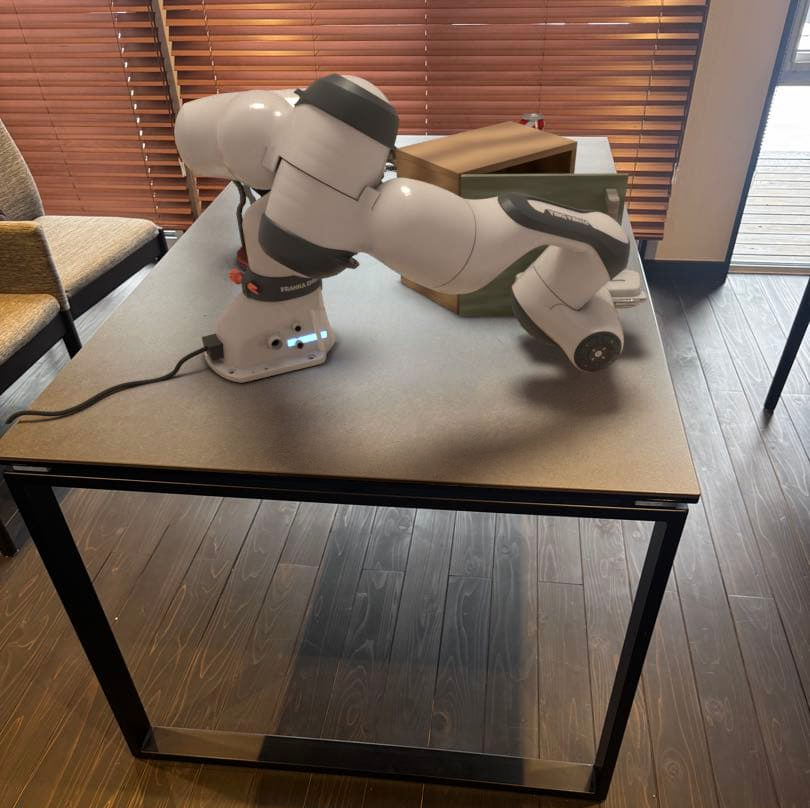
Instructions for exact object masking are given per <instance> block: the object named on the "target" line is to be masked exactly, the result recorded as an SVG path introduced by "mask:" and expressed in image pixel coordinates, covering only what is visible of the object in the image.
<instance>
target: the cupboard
mask: <svg viewBox="0 0 810 808" xmlns="http://www.w3.org/2000/svg"><path fill="white" fill-rule="evenodd" d="M577 150H578V140H575V139H571V138H567V137H564V136H561V135H558V134H555V133H551V132H548V131H546V130H545V131H542V130H538V129H535V128H532V127H529V126H525V125H522V124H519V122H516V121H512V120H507V121H505V122H504V121H503V122H501V123H495V124H492V125H487V126H483V127H480V128H475V129H472V130H467V131H463V132H459V133H455V134H450V135H446V136H442V137H438V138H434V139H430V140H425V141H421V142H417V143H412V144H410V145H405V146H401V147H397V148H396V166H395V168H396V178H409V179H414V180H418V181H422V182H426V183H429V184H432V185H435V186H438V187H440V188H443V189H445V190H447V191H450V192H452V193H454V194H456V195H458V196H460V197H461V175H462V174H575V170H576V160H577ZM400 283H402V284H403V285H406V286H407V287H409V288H410V289H412V290H414V291H415V292H418V293H419V294H421V295H423V296H424V297H426V298H428V299H429V300H431V301H433V302H435V303H437V304H438V305H440V306H442V307H443V308H445V309H447V310H449V311H451V312H452V313H454V314H455V315H459V306H460V294H445V293H441V292H438V291H435V290H432V289H429V288H427V287H425V286H422V285H420V284H417V283H415V282H413V281H411V280H409V279H407V278H405V277H403V276H401V275H400Z"/></svg>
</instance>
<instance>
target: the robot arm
mask: <svg viewBox="0 0 810 808" xmlns="http://www.w3.org/2000/svg"><path fill="white" fill-rule="evenodd" d="M399 128H400V117H399V114H398V112H397V109H396V107H394V106H393V105H392V104H391V103H390V101H389V99H388V98H387V96H386V95H385V94H384V92H382V91H381V90H380V88H378V87H377V86H376V85H374V83H372V82H370V81H368V80H366V79H364V78H361V77H359V76H355V75H350V74H338V73H335V72H334V73H330V74H327V75H325V76H321V77H319V78H317V79H316V80H314V81H313V82H312V83H311V84H310V85H309V86H308V87H300V88H299V87H297V88H286V89H271V90H270V89H269V90H267V89H251V90H245V91H234V92H225V93H217V94H213V95H208V96H204V97H200V98H198V99H194V100H191V101H187V102H185V103H183V105H182V106H181V107H180V108H179V111H178V113H177V116H176V119H175V123H174V131H173V133H174V142H175V146H176V150H177V152H178V155H179V156H180V158H181V160H182V161H183V163H184V164H185V166H186V167H187V168H188V169H189V170H190V171H191V172H192V173H193V174H194V175H195V176H201V177H208V178H215V179H225V180H226V179H227V180H231V181H232V180H237V181H239V182H240V183H241V184H242V185H243V184H244V185H246V186H249V187H251V188H255V189H261V190H268V189H271V191H270V192H268V193H267V194H265V195H264V196H262V197H261V196H260V197H259V198H257V199H256V201H255V202H254V203H253V204H251V205H250V204H249V206H248V208H247V209H246V211H244V214H243V216H242V218H243V221H242V227H243V233H244V239H245V245H246V251H247V257H248V262H249V264H248V266H247V269H246V270H245V271H244V273H242V272H241V271H240V270H239V269H237V268H233V269H231V270H229V272H228V278H229V281H231V282H233V283H234V284H235V285H240V286H241V291H240V293H239V294H238V295H237V296H236V298H235V299H234V300H233V301H232V302H231V304H229V306H228V307H227V308H226V309H225V310H224V311H223V312H222V313H221V314H220V315H219V317H218V318H217V320H216V322H215V328H214V333H212V334H207V335H204V336H201V340H202V345H203V347H200V348H199V349H197V350H194V351H192V352H190V353H188V354H187V355H185V356H184V357H182V358H181V359H179V360H178V362H177V363H176V365H175V367H174V368H173V370H171V371H170V372H169V373H167V374H164V375H163V376H159V377H155V378H150V379H143V380H141V379H140V380H134V381H127V382H123V383H119V384H116V385H113V386H110V387H109V388H106V389H103V390H102V391H99V392H98V393H96V394H95V395H93V396H91V397H89V398H88V399H86V400H85V401H83V402H81V403H79V404H77V405H74V406H72V407H69V408H66V409H62V410H57V411H56V410H55V411H48V410H47V411H46V410H44V411H43V410H31V409H27V410H25V409H24V410H18V411H16V412H14V413H13V414H10V415H9V417H8V418H7V419H6V420H5V422H4V425H11V424H12V423H13V422H14V421H15V420H16V419H17V418H20V417H22V416H39V417H61V416H66V415H69V414H72V413H74V412H78V411H79V410H82V409H83V408H85V407H87V406H89V405H91V404H92V403H95V402H96V401H98V400H99V399H101V398H103V397H105V396H106V395H109V394H111V393H113V392H115V391H118V390H122V389H125V388H129V387H136V386H143V385H150V384H154V383H160V382H165V381H167V380H169V379H171V378H172V377H175V376H176V375H177V374H178V373H179V371H180V369H181V367H182V366H183V364H185V363H186V362H188V361H189V360H191V359H192V358H194V357H196V356H198V355H201V354H204V359H205V361H206V364H207V365H208V366H209V368H210V369H212V371H213V372H215V373H216V374H217V375H219V376H220V377H221V378H224V379H225V380H228V381H231V382H234V383H239V384H241V383H248V382H251V381H255V380H260V379H265V378H268V377H272V376H276V375H281V374H284V373H285V374H286V373H289V372H293V371H297V370H301V369H305V368H309V367H314V366H318V365H321V364H324V363H325V362H326V361H327V356H328V355H327V354H328V353H329V351H330V350H331V349H332V348H333V346H334V345H335V343H336V336H335V333H334V332H333V329H332V326H331V323H330V321H329V318H328V314H327V310H326V307H325V302H324V296H323V292H322V291H323V280H324V279H328V278H332V277H335V276H338V275H340V274H341V273H342V272H344V271H345V270H346V269H351V270H356V269H357V268H359V266H360V262H359V261H358V260H357V259H356V258H354V257H355V256H356V255H359V254H358V253H364V254H367V255H368V256H370V257H372V258H374V259H376V260H377V261H378V262H380V263H381V264H383V265H384V266H385V267H387V268H389V269H390V270H392V271H393V272H394V273H396V274H398V275H399V276H400V277H401V276H403V277H405V278H407V279H409V280H411V281H413V282H415V283H417V284H420V285H422V286H425V287H427V288H429V289H432V290H435V291H438V292H441V293H445V294H466V293H471V292H474V291H476V290H478V289H481V288H482V287H484V286H485V285H487V284H488V283H490V282H491V281H492V280H493V279H494V278H496V277H497V276H498V275H499V274H500V273H502V272H503V271H504V270H505V269H506V268H508V267H509V266H510V265H511V264H512V263H514V262H515V261H516V260H518V259H519V258H520V257H522V256H523V255H524V254H526V253H527V252H529V251H531V250H532V249H534V248H536V247H539V246H541V245H549V246H548V248H547V249H546V250H545V251H544V252H543V253H542V254H541V255H540V256H539V257H538V258H537V259H536V260H535V261H534V262H533V263H532V264H531V265H530V266H529V267H528V268H527V269H526V271H525V272H522V273H519V274H517V275H516V279H515V283H514V284H513V285H512V286H511V292H510V298H511V305H512V310H513V313H514V315H515V317H514V318H515V319H516V321H517V322H518V324H519V325H520V327H521V328H523V330H524V331H525V332H526V333H528V334H529V335H530V336H531V337H532V338H533V339H535V340H536V341H538V342H540V343H542V344H545V345H549V346H553V347H560V348H561V349H562V350H563V352H564V353H565V355H566V356H567V357H568V359H569V361H570V363H572V365H573V366H574V367H575V368H577V369H578V370H580V371H582V372H585V373H595V372H600V371H603V370H605V369H608V368H609V367H610V366H612V365H613V364H614V363H615V362H616V361H617V360H618V359H619V358H620V356H621V354H622V352H623V349H624V345H625V336H624V330H623V325H622V322H621V318H620V316H619V312H618V311H617V310H620V309H621V310H623V309H625V310H626V309H632V308H635V307H637V306H640V304H643V303H644V304H645V303H646V302H647V300H648V296H647V294H646V292H645V291H644V290H642V289H641V285H642V283H641V282H642V281H641V277H640V273H639V272H638V271H635V270H632V269H627V268H628V264H629V259H630V254H631V240H630V237H629V236H628V235H627V233H626V231H625V229H624V228H623V227H622V225H621V226H620V225H619V224H618V223H617V222H616V221H615V220H614V219H613V218H611V217H610V216H608V215H606V214H604V213H602V212H600V211H597V210H581V209H576V208H573V207H569V206H566V205H563V204H559V203H556V202H552V201H549V200H546V199H542V198H539V197H535V196H531V195H527V194H523V193H518V192H508V193H505V194H502V195H499V196H497V197H493V198H487V199H478V200H471V199H464V198H461V197H460V196H458V195H456V194H454V193H452V192H450V191H447V190H445V189H443V188H440V187H438V186H435V185H432V184H429V183H426V182H422V181H418V180H414V179H409V178H397V177H393V178H390V179H388V180H385V181H382V182H383V183H382V184H380V185H379V182H380V179H381V177H382V174H383V171H384V168H385V165H386V166H387V163H386V161H387V158H388V155H389V151H390V149H394V145H395V146H396V141H397V137H398V133H399ZM378 185H379V186H378ZM251 188H250V189H251Z"/></svg>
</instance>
